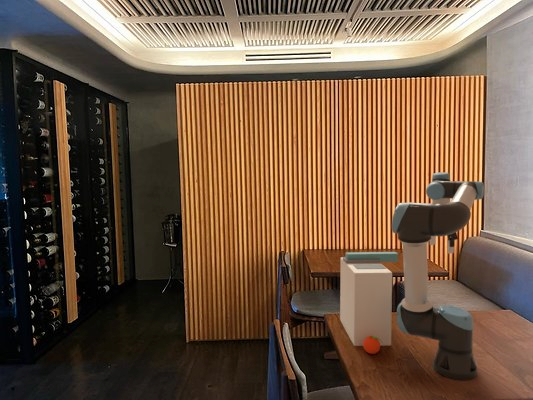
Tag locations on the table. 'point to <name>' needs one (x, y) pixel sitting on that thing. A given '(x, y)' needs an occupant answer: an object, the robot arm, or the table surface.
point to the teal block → (373, 256)
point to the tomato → (371, 344)
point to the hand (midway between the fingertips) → (441, 248)
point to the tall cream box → (366, 300)
